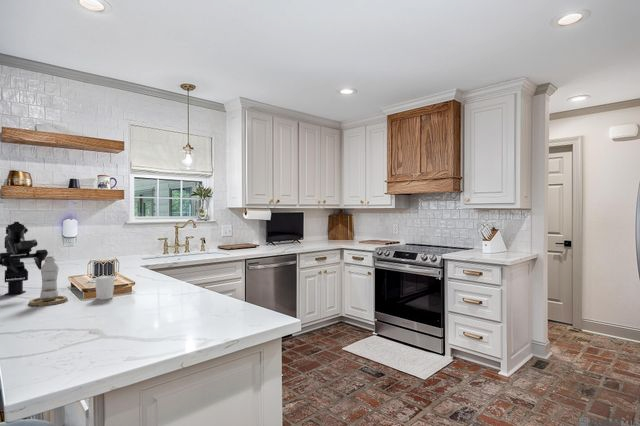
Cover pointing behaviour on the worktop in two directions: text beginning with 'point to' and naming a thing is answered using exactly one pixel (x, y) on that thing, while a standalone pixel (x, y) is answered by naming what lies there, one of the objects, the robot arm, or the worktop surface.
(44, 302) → the brown round plate
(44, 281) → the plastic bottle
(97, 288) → the white cup
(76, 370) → the worktop surface
